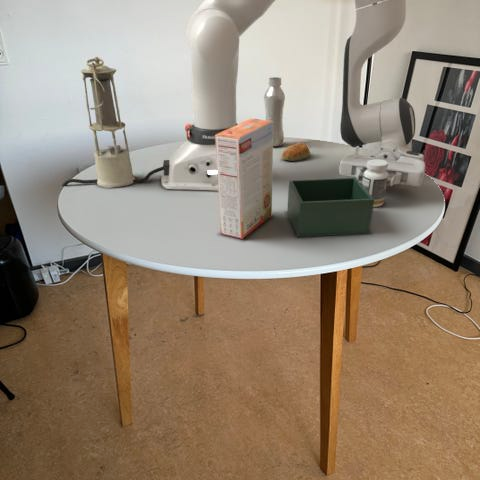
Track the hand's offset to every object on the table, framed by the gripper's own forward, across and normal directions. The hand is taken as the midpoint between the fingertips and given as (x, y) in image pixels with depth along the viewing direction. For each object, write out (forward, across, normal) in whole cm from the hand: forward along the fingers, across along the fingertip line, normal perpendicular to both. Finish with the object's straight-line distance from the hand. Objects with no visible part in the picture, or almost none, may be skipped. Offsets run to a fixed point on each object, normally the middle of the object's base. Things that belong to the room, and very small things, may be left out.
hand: (374, 180), depth 107 cm
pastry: (-28, -29, +6) cm, 41 cm away
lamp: (+13, -67, +6) cm, 68 cm away
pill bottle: (-1, 0, +6) cm, 6 cm away
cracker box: (+23, -22, +6) cm, 33 cm away
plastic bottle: (-37, -41, +6) cm, 56 cm away
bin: (+14, -7, +6) cm, 17 cm away
